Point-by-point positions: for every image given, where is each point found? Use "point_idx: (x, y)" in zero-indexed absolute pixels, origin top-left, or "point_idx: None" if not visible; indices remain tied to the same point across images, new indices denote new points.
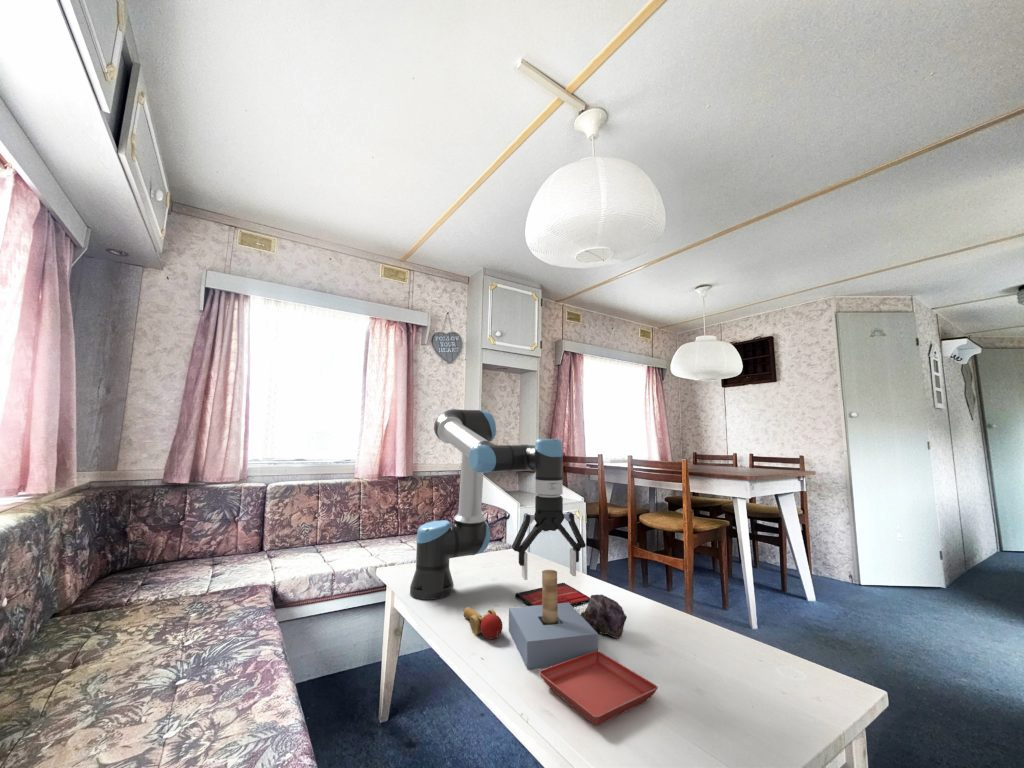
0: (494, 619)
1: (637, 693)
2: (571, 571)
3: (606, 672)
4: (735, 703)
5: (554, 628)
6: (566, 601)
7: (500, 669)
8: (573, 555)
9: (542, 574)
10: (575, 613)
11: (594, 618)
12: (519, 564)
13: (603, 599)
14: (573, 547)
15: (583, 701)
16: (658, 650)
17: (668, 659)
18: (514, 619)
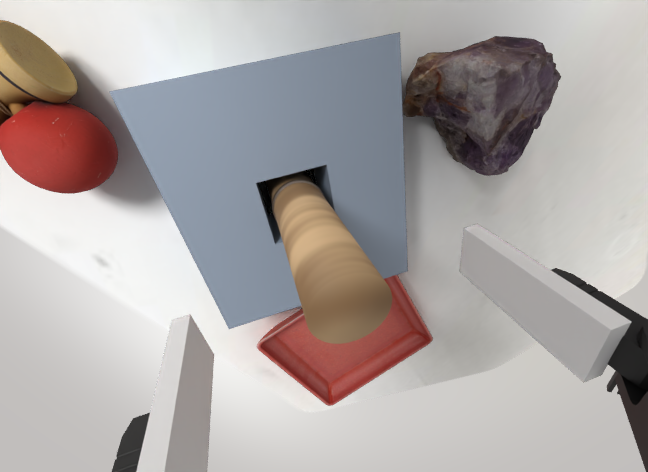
0: (71, 182)
1: (403, 324)
2: (472, 256)
3: None
4: (504, 314)
5: None
6: None
7: (166, 296)
8: (554, 356)
9: (304, 315)
10: (392, 152)
11: (445, 114)
12: (136, 421)
13: (522, 102)
14: (636, 357)
15: (322, 354)
16: (508, 195)
17: (502, 226)
18: (165, 200)
